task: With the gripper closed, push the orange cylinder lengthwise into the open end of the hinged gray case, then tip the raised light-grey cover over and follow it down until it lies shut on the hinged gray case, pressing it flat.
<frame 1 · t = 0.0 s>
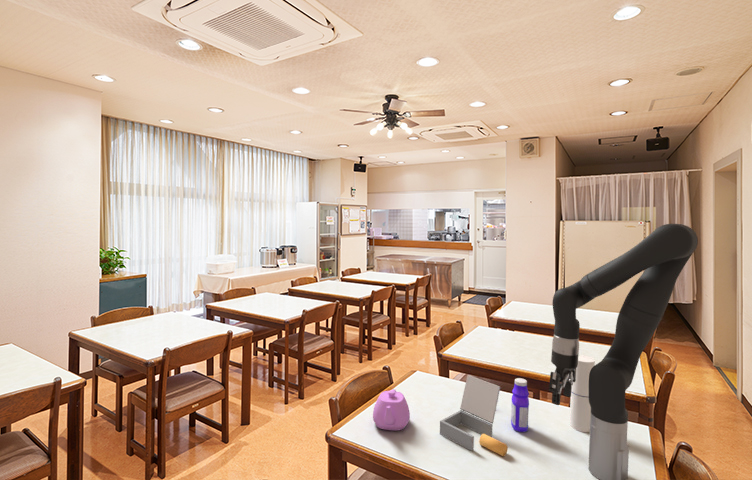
hand: (561, 400, 119), 17 cm above the table, tool pointing down, fingers open, 8 cm apart
lighter: (473, 402, 153), on the table
teapot: (390, 425, 135), on the table
cylindrical container: (580, 427, 136), on the table
bottle: (519, 428, 134), on the table
orange cylinder: (493, 450, 121), on the table
hinged gray case: (465, 435, 129), on the table
cover: (480, 398, 134), point 11 cm above the table, hinge at 110.0°
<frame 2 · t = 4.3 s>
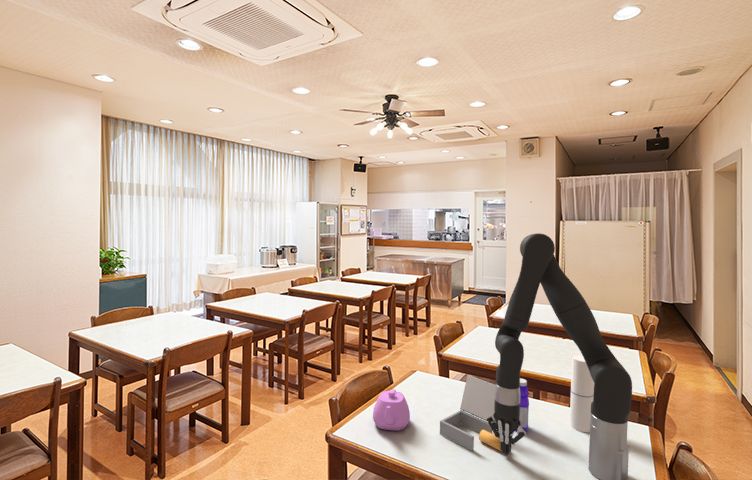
hand: (505, 453, 117), 1 cm above the table, tool pointing down, fingers closed
orange cylinder: (490, 445, 122), point 1 cm above the table, tilted 51°, touching gripper
everything else where it was.
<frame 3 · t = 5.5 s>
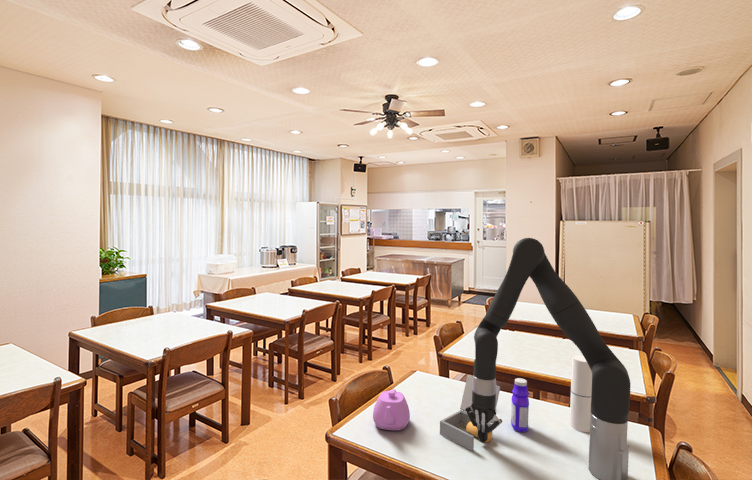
hand: (482, 441, 123), 1 cm above the table, tool pointing down, fingers closed
orange cylinder: (476, 437, 127), on the table, tilted 39°, touching hinged gray case
everything else where it was.
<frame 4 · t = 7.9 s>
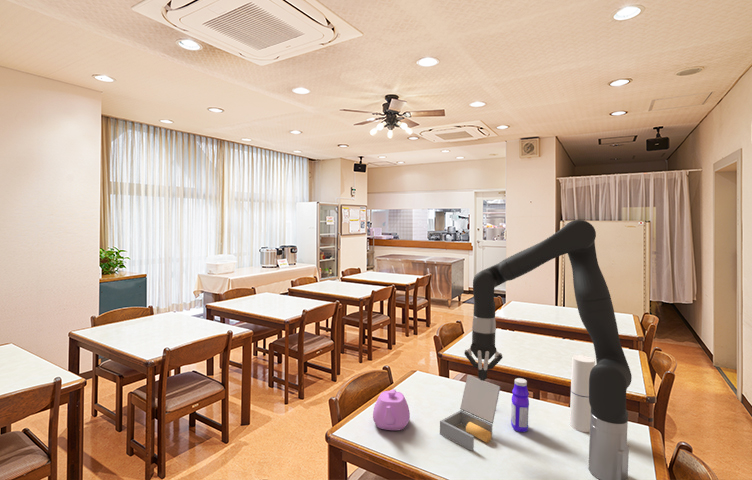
hand: (482, 379, 127), 20 cm above the table, tool pointing down, fingers closed
orange cylinder: (476, 437, 127), on the table, tilted 34°
everything else where it was.
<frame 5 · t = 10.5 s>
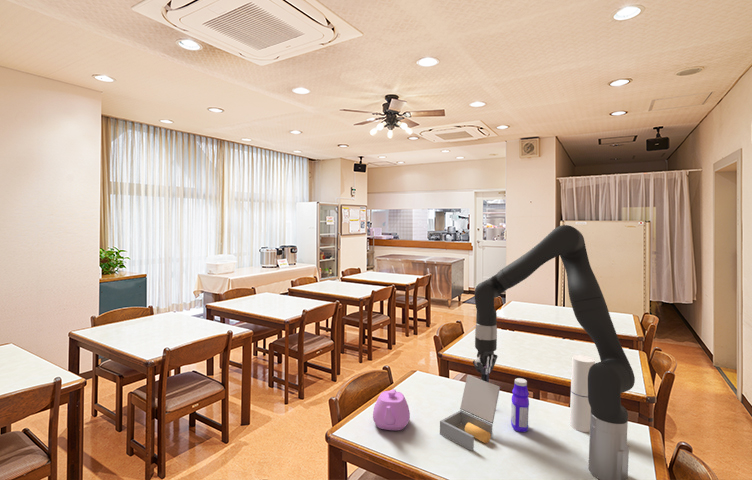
hand: (484, 383, 136), 15 cm above the table, tool pointing down, fingers closed
orange cylinder: (476, 438, 127), on the table, tilted 12°
cover: (479, 398, 134), point 11 cm above the table, hinge at 109.2°, touching gripper
everything else where it was.
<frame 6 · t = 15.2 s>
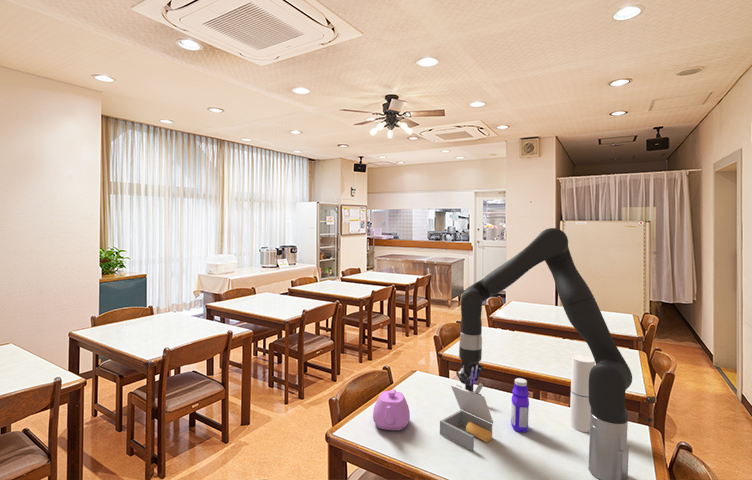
hand: (469, 394, 130), 13 cm above the table, tool pointing down, fingers closed
orange cylinder: (476, 437, 127), on the table, tilted 39°
cover: (472, 403, 130), point 10 cm above the table, hinge at 60.2°, touching gripper
everything else where it was.
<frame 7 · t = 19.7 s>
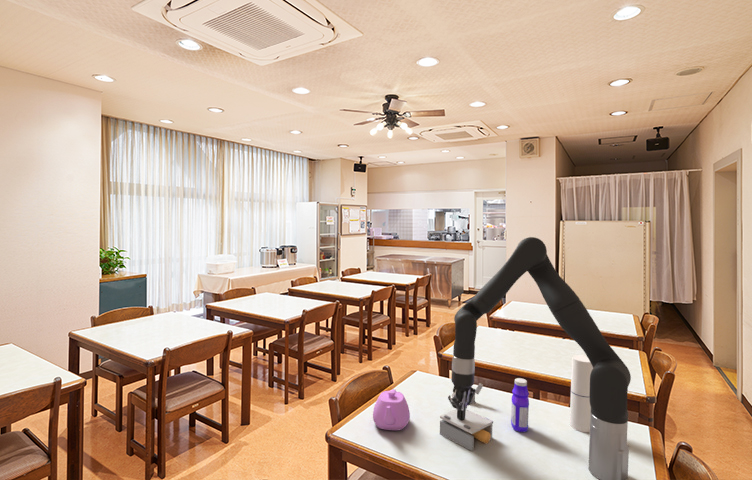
hand: (461, 419, 128), 6 cm above the table, tool pointing down, fingers closed
orange cylinder: (476, 438, 127), on the table, tilted 10°
cover: (466, 418, 129), point 6 cm above the table, hinge at 3.4°, touching gripper
everything else where it was.
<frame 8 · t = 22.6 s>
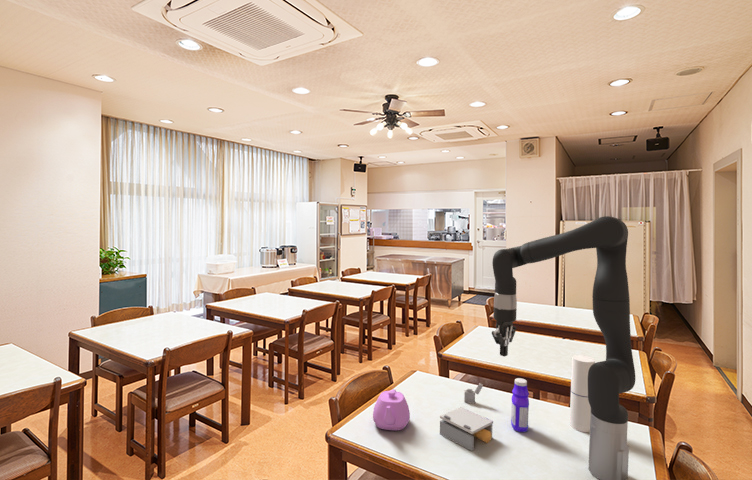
hand: (503, 355, 131), 27 cm above the table, tool pointing down, fingers closed
orange cylinder: (476, 437, 127), on the table, tilted 34°
cover: (466, 418, 129), point 6 cm above the table, hinge at 3.4°
everything else where it was.
at the end: orange cylinder inside the target area (4.8 cm from its centre), on the table; cover at +3° (first picture: +110°) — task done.
